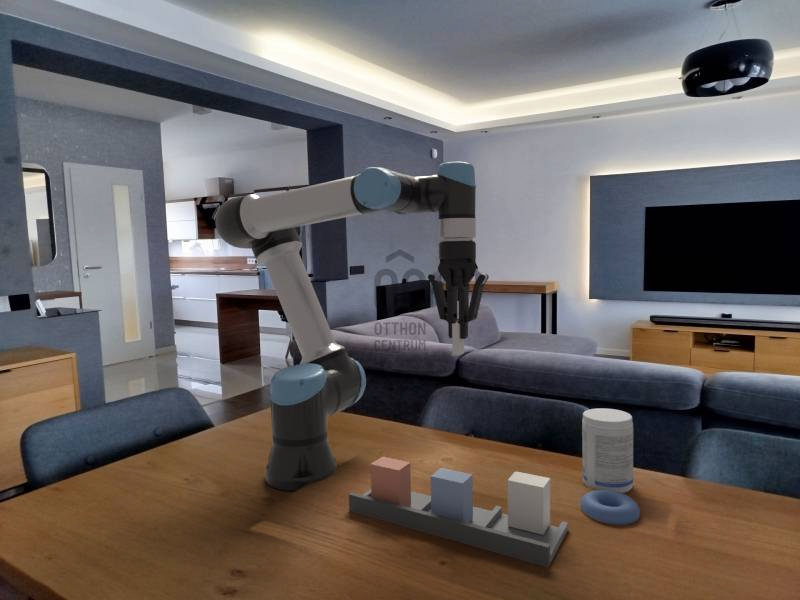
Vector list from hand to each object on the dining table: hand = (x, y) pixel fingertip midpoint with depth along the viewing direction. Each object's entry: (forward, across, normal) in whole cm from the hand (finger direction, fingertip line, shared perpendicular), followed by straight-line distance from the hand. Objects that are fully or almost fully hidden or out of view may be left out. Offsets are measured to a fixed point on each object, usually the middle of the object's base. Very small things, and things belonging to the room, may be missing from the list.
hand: (458, 353), depth 112 cm
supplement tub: (+27, -28, -10) cm, 40 cm away
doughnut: (+27, -31, +4) cm, 41 cm away
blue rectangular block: (+25, -8, +21) cm, 33 cm away
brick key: (+25, +4, +21) cm, 33 cm away
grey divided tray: (+26, -8, +20) cm, 34 cm away
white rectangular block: (+25, -20, +16) cm, 36 cm away
